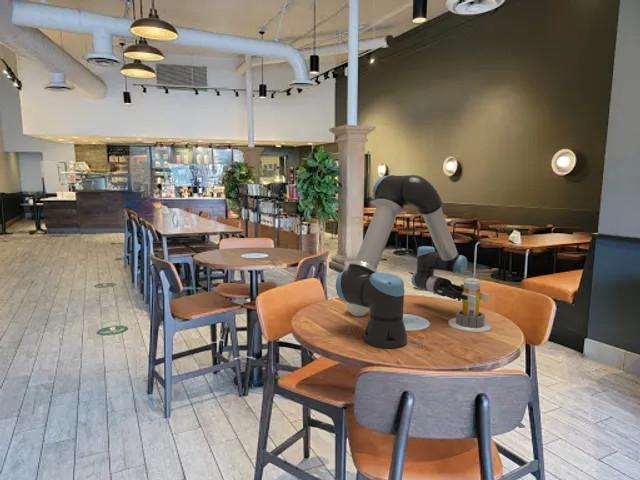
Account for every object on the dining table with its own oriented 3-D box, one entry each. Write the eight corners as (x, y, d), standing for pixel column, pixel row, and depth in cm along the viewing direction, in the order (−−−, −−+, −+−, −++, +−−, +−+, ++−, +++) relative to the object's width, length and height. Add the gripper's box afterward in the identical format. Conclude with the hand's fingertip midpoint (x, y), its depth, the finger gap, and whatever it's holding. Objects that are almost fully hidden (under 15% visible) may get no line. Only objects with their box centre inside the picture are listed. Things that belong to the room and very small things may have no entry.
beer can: (476, 314, 169) (478, 278, 167) (480, 319, 163) (482, 281, 161) (460, 314, 169) (462, 277, 167) (464, 319, 163) (466, 281, 161)
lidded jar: (372, 318, 175) (372, 296, 174) (346, 317, 175) (346, 295, 174) (369, 310, 185) (370, 289, 184) (345, 310, 186) (345, 289, 184)
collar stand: (483, 335, 155) (484, 322, 155) (442, 326, 165) (442, 314, 165) (497, 324, 168) (497, 313, 167) (457, 316, 178) (458, 305, 177)
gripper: (456, 292, 186) (499, 305, 165) (421, 296, 177) (462, 311, 157) (456, 275, 185) (500, 286, 164) (422, 279, 176) (463, 292, 156)
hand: (481, 299), depth 160 cm, fingers closed on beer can, 6 cm apart
